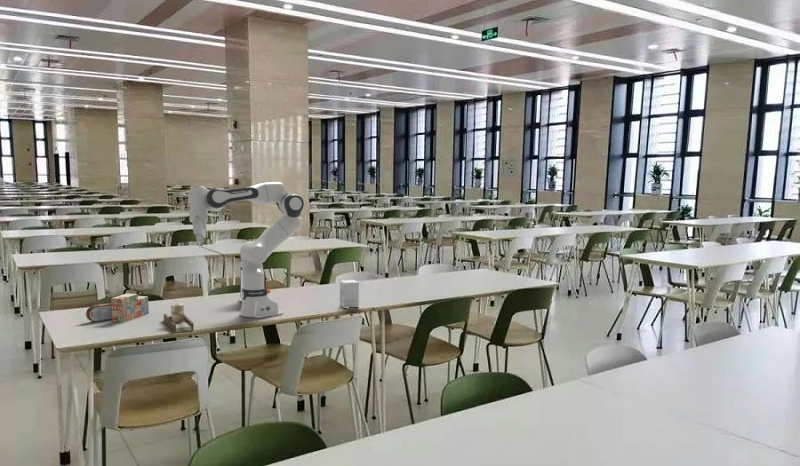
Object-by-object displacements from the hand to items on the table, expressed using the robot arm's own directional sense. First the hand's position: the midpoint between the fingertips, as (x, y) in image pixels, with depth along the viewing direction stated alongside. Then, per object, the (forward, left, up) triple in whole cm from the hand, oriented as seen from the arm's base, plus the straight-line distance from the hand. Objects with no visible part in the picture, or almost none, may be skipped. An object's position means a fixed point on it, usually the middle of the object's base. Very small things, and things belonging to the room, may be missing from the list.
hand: (200, 244), depth 303 cm
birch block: (+12, +5, -37) cm, 39 cm away
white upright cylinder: (-38, -32, -39) cm, 63 cm away
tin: (+43, -19, -39) cm, 61 cm away
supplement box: (-82, +4, -39) cm, 91 cm away
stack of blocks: (+30, -20, -39) cm, 53 cm away
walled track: (+12, +7, -39) cm, 41 cm away
